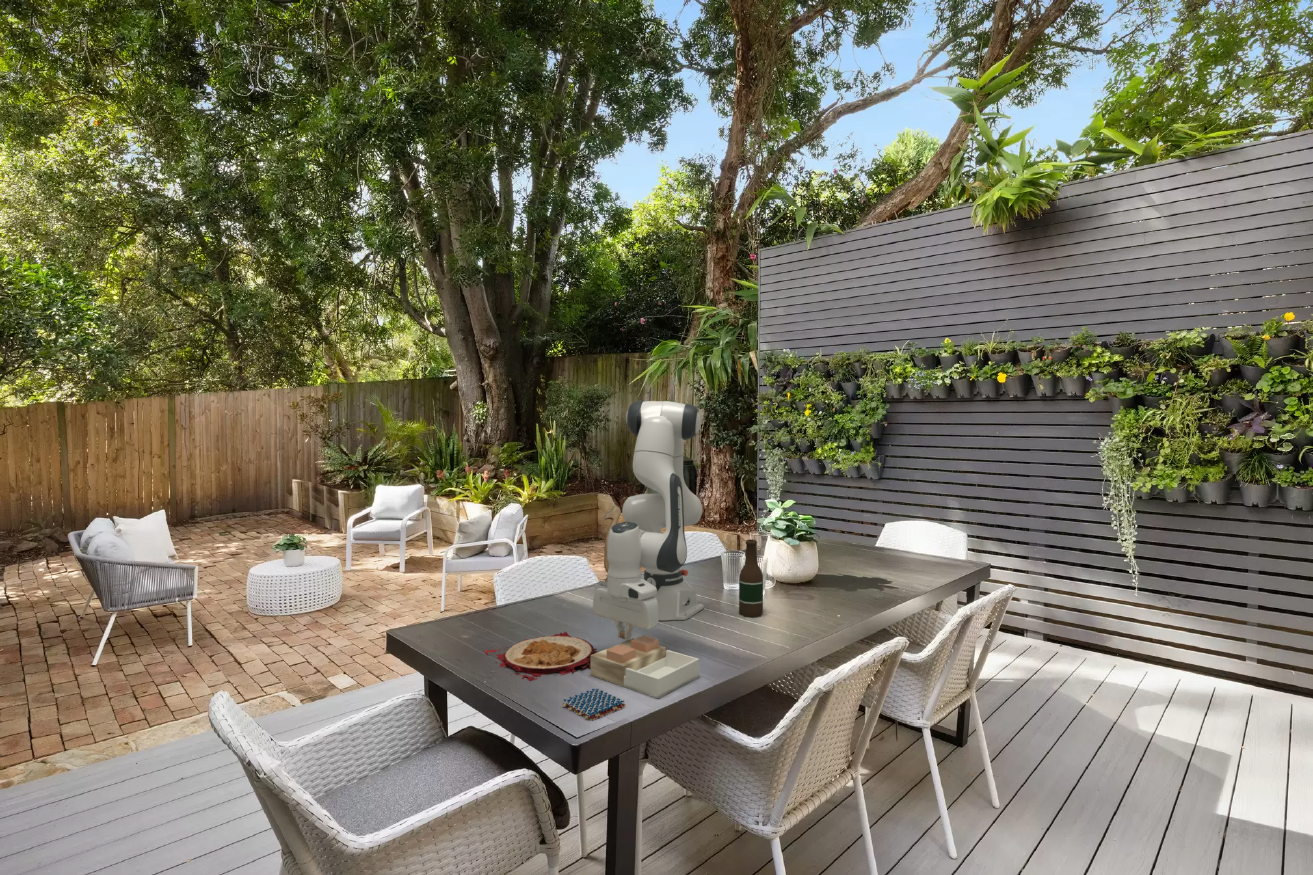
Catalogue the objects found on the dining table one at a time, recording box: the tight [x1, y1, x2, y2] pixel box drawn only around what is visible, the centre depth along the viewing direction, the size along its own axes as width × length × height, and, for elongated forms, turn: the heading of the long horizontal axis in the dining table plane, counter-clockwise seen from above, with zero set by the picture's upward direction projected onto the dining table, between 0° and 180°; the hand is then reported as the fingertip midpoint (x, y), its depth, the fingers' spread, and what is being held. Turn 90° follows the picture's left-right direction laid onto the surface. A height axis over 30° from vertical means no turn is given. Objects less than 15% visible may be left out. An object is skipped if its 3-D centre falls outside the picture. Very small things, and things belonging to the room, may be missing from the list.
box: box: [624, 649, 700, 700], centre depth 160 cm, size 16×10×4 cm, turn 141°
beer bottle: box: [738, 538, 764, 619], centre depth 213 cm, size 8×8×24 cm
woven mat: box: [562, 688, 627, 722], centre depth 146 cm, size 10×11×2 cm
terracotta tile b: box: [607, 645, 636, 663], centre depth 162 cm, size 5×5×2 cm
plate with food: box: [484, 631, 598, 682], centre depth 176 cm, size 25×26×4 cm
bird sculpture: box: [603, 504, 622, 582], centre depth 239 cm, size 11×12×32 cm
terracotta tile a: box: [631, 634, 660, 652], centre depth 169 cm, size 5×5×2 cm
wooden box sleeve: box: [590, 637, 667, 688], centre depth 167 cm, size 16×11×5 cm
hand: (624, 638), depth 173 cm, fingers closed
